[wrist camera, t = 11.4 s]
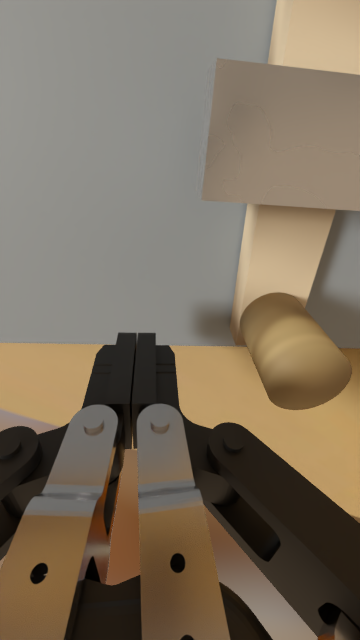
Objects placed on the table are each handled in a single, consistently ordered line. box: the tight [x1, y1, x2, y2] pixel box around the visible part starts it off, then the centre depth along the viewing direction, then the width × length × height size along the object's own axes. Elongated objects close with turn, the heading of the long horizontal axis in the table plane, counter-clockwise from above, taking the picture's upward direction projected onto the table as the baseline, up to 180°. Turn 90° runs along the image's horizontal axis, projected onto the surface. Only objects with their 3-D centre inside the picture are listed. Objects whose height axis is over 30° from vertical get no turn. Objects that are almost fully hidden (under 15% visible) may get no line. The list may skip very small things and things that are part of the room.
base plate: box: [0, 0, 360, 348], centre depth 10 cm, size 26×22×1 cm
